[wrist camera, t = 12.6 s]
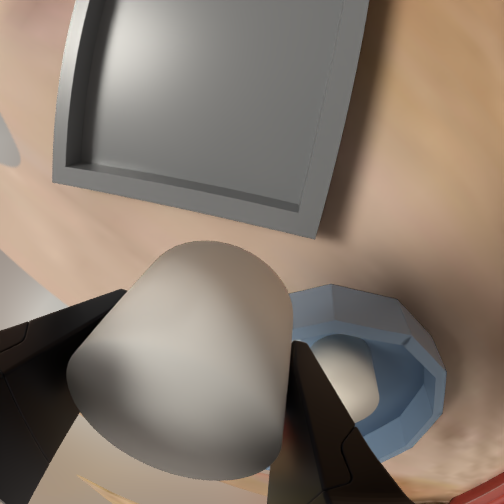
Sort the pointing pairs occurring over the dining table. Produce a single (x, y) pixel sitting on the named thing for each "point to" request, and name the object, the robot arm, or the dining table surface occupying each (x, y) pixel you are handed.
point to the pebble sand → (349, 372)
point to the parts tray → (209, 104)
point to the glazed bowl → (380, 360)
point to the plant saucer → (484, 493)
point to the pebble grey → (192, 364)
